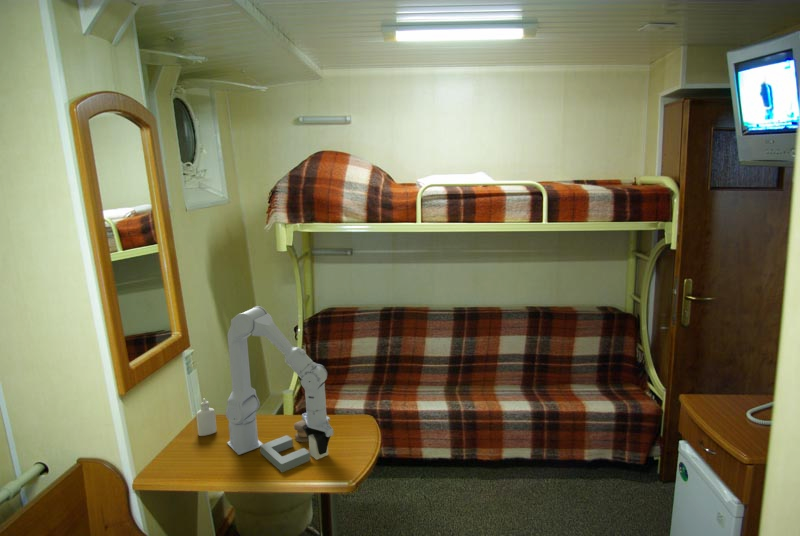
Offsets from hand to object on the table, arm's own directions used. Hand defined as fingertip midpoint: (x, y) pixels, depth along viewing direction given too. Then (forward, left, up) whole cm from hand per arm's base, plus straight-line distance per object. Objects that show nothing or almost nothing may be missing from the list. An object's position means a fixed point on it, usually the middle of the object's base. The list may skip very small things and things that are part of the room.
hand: (318, 450), depth 144 cm
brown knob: (-12, +2, -1) cm, 12 cm away
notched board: (-6, -8, -1) cm, 10 cm away
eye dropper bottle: (-37, -20, -2) cm, 42 cm away
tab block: (0, 0, -1) cm, 1 cm away
